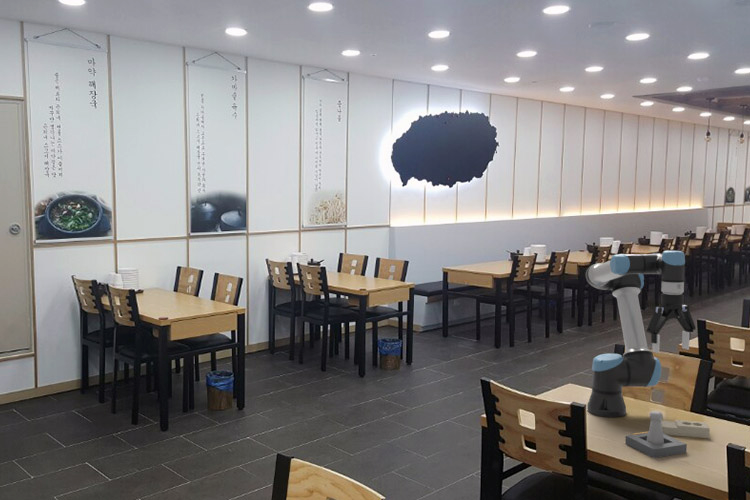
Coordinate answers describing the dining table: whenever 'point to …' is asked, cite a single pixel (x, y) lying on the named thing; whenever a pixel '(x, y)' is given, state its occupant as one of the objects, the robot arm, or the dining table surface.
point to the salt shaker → (655, 428)
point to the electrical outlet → (686, 428)
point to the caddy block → (666, 449)
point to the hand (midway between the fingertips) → (670, 350)
